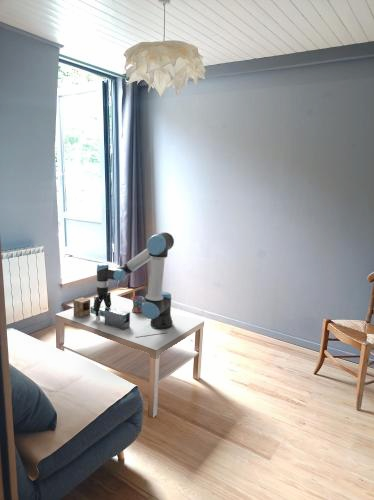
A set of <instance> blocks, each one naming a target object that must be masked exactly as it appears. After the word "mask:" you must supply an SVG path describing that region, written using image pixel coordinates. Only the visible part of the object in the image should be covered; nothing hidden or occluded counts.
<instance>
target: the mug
mask: <svg viewBox="0 0 374 500" xmlns="http://www.w3.org/2000/svg"><path fill="white" fill-rule="evenodd" d="M131 300H132V304H133V305H132V308H131V311H132V313H137V314H139V313H142V310H141V308H142V305H143V304H144V303H145V296H142V295H135V296H132V297H131Z"/></svg>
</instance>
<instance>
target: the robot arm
mask: <svg viewBox="0 0 374 500" xmlns="http://www.w3.org/2000/svg"><path fill="white" fill-rule="evenodd" d="M174 245H175V239H174V236H173V235H172V234H171V233H169V232H161V233H156V234H153V235H152V236H150V237H149V238H148V239H147V242H146V248H145V249H144V250H142V251H141V252H140V253H138V254H137V255H136V256H134V257H133V258H131V259H130V260H129V261H127V262H125V263H124V264H123V265H120V266H119V267H116V268H114V267H110V266H109V264H108V263H106V262H103V263H102V262H100V263H98V264H97V265H96V293H97V295H96V296H94V297H93V299H94V300H93V306H94V308H93V311H96V314H95V320H96V321H98V322H99V321H101V316H100V311H99V309H100V306H101V305H102V303H104V306H105V307H104V308H107V309H108V308H111V307H112V300H111V292H109V280H113V281H117V282H123V281H124V280H125V279H126V277H127V276H129V275H131V274H133V273H134V272H135V271H137V269H139V268H141V267H142V266H143V265H145V264H146V263H147V262H149V261H150V266H149V278H148V279H149V280H148V290H147V294H146V295H145V296H144V298H145V299H144V301H145V303H144V302H143V303H144V304H143V305H142V308H141V310H142V312H141V313H142V314H143V316H144V317H145V318H147V319H148V320H149V319H150V327H151V328H154V329H158V330H166V329H167V330H168V329H170V328H172V327H173V325H174V324H173V320H172V316H171V315H172V314H171V310H172V309H171V307H172V294H171V293H170V292H169V291H168V292H167V291H163V283H164V282H163V281H164V280H163V279H164V271H165V270H164V269H165V261H166V260H165V259H166V258H167V257H168V255H169V254H168V253H169V250H171V249H172V248H173V246H174ZM97 309H98V310H97Z"/></svg>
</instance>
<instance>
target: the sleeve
mask: <svg viewBox="0 0 374 500" xmlns="http://www.w3.org/2000/svg"><path fill="white" fill-rule="evenodd" d="M125 315H127V320H126V321H124V316H125ZM130 324H131V312H130V311H126V310H123V309H119V308H115V307H112V306H110V308H108V309H106V310H105V317H104V325H105V326H108V327H111V328H115V329H118V330H120V331H125V330H127V329H129V328H130Z"/></svg>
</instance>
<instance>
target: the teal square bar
mask: <svg viewBox="0 0 374 500" xmlns="http://www.w3.org/2000/svg"><path fill="white" fill-rule="evenodd" d="M93 308H94V305H92V306H91V305H90V314H92V315H96V311H93ZM106 309H107V308H105V307H104V305H102V304H101V306H100V309H99V311H100V317H103V318H105V310H106ZM97 310H98V309H97ZM126 320H127V315H125V316H124V321H126Z"/></svg>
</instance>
